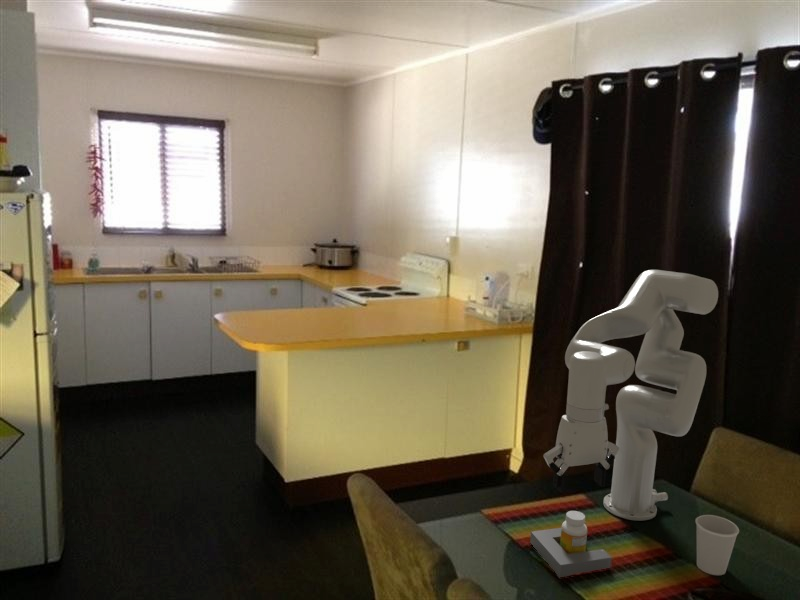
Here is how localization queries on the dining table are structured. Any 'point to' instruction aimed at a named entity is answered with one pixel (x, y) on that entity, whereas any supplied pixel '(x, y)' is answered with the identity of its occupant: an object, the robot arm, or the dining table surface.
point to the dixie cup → (714, 543)
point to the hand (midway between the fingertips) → (579, 486)
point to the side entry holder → (563, 562)
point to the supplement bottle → (574, 533)
